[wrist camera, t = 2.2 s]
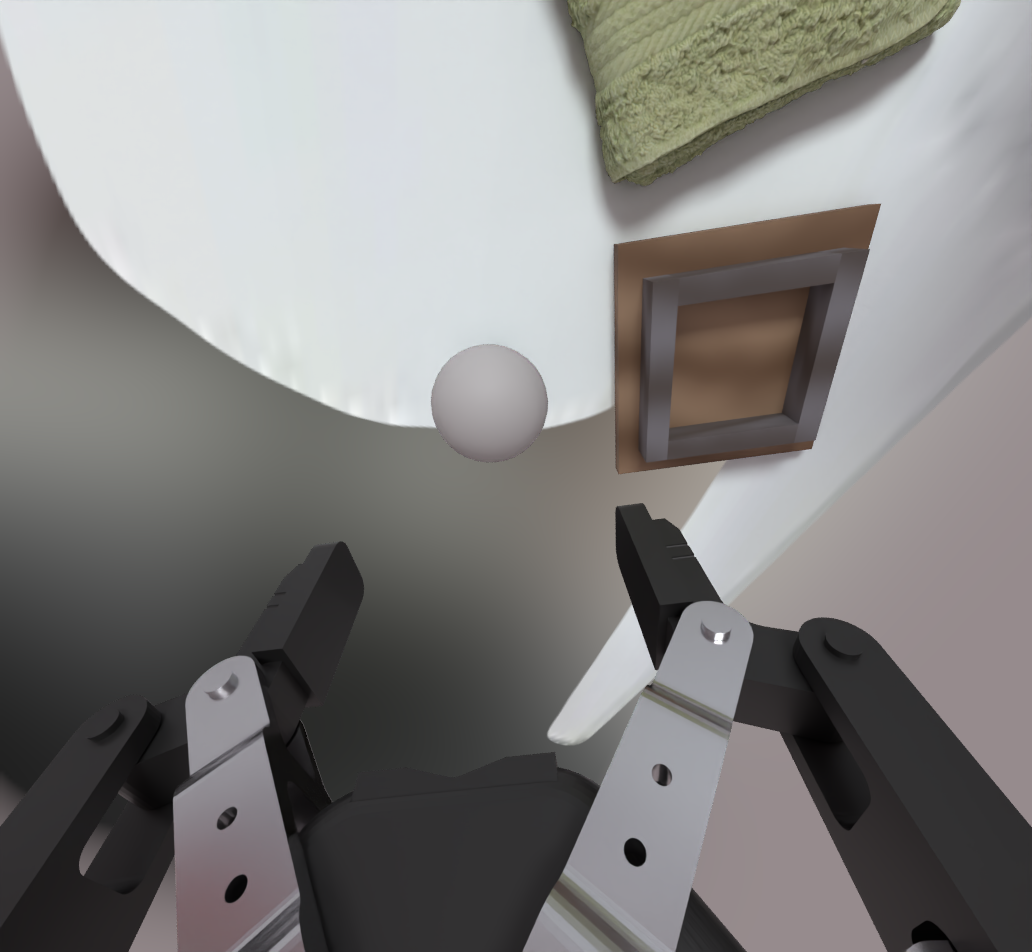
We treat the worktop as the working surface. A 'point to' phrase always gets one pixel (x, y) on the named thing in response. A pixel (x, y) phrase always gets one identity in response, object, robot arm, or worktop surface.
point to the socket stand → (732, 336)
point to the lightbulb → (489, 403)
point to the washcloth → (724, 65)
